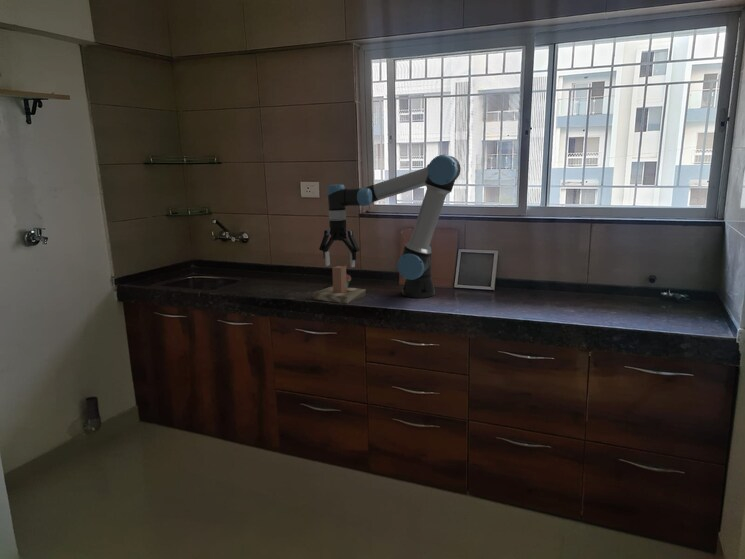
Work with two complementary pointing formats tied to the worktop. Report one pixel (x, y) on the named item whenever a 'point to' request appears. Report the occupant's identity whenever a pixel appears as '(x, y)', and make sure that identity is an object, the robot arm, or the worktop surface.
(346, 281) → the cupcake
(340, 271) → the bracket bar
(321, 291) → the well block
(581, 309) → the worktop surface
